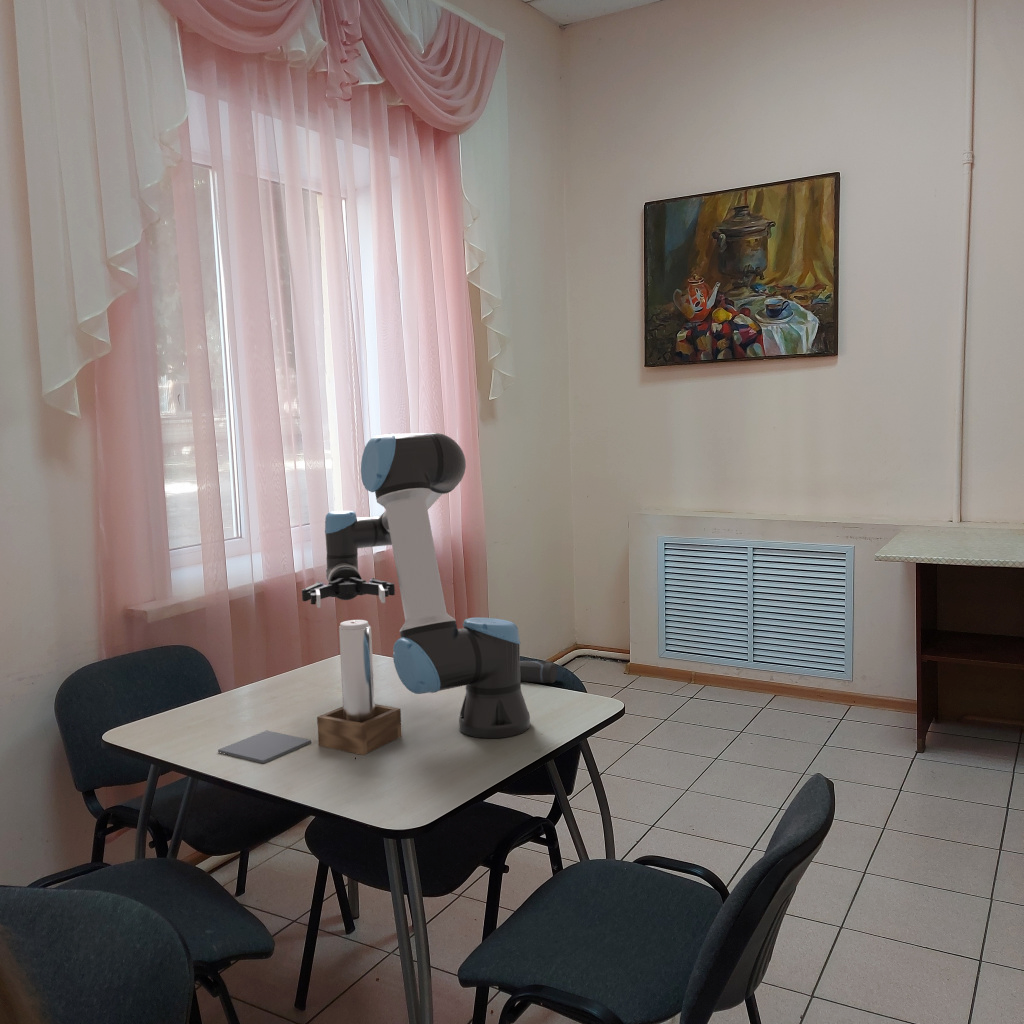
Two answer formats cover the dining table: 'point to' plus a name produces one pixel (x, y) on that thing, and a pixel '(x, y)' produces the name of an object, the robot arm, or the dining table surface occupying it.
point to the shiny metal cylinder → (357, 670)
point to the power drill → (538, 672)
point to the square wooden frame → (359, 730)
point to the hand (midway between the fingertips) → (351, 598)
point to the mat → (264, 746)
